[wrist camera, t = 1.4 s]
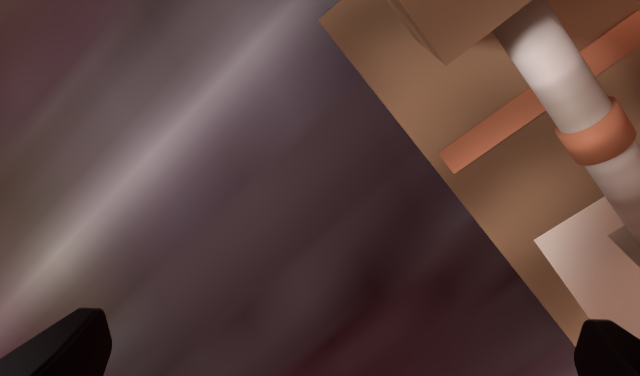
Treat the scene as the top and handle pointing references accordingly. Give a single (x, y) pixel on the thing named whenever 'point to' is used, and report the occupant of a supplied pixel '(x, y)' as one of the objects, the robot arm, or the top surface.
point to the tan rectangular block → (598, 264)
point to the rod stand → (512, 111)
